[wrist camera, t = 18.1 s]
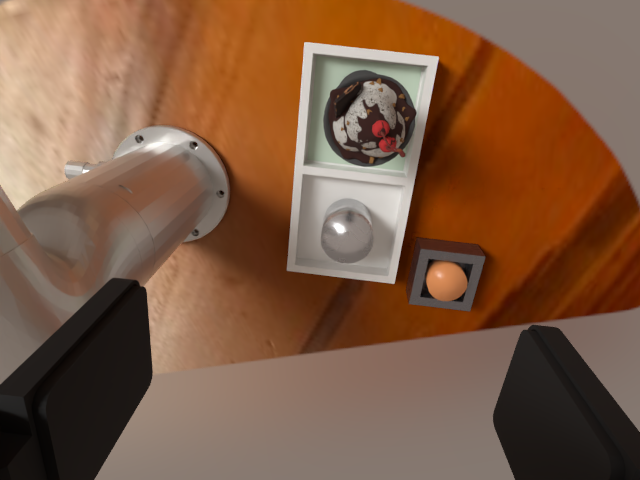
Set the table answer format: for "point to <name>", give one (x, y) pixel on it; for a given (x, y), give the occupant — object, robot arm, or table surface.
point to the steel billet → (347, 231)
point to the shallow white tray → (348, 179)
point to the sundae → (369, 119)
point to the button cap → (445, 280)
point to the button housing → (446, 251)
